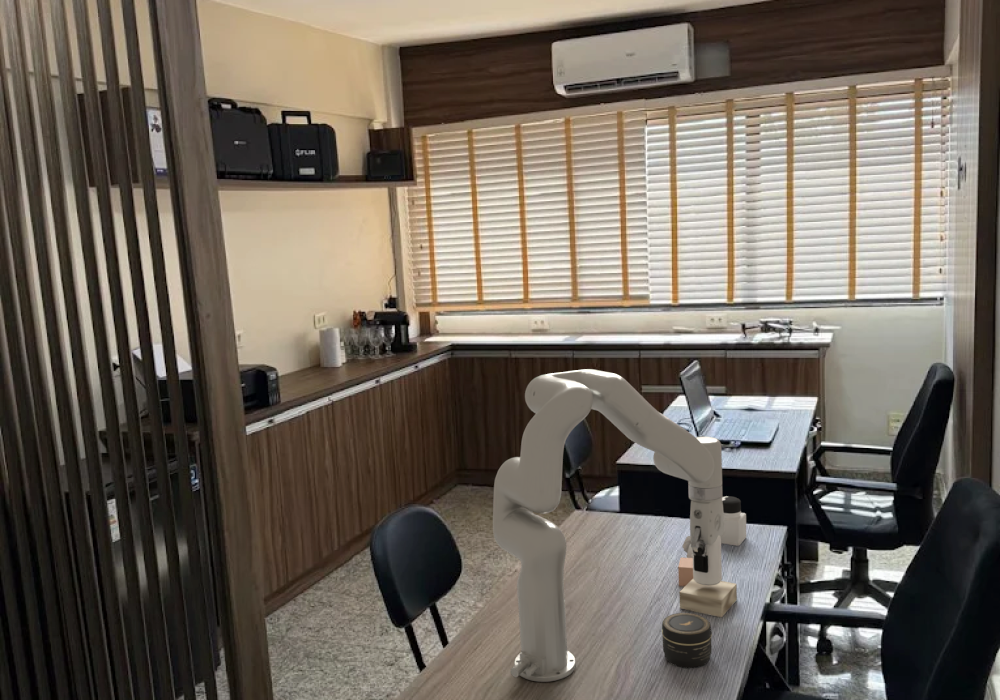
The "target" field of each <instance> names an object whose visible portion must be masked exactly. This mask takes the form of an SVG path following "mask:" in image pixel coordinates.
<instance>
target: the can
mask: <svg viewBox="0 0 1000 700" xmlns="http://www.w3.org/2000/svg"><path fill="white" fill-rule="evenodd" d="M699 541H700V542H704V540H703V539H700V540H699ZM699 547H701V548H702V550H703V545H701V544H699ZM692 553H693V550H692ZM706 555H707V556H708V572H707V573H704V572H699V571H695V570H694V555H693V579H694V580H695V582H697V583H699V584H702V585H716V584H718V583H720V581H723V578H722V577H723V576H722V575H723V572H722V571H723V570H722V567H723V566H722V543H721V537H720V535H719V536H718V537H717V539H716V541H715V542H714V543H713V544H711V545H707V553H706Z"/></svg>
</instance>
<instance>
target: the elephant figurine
mask: <svg viewBox="0 0 1000 700" xmlns="http://www.w3.org/2000/svg"><path fill="white" fill-rule="evenodd" d="M691 542H692V541H691V537H690V535H687V536H686V538H685V540H684V541H683V544H682V549H683V551H684V552H685V553H686V558H693V553H692V547H691Z"/></svg>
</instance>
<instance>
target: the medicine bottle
mask: <svg viewBox="0 0 1000 700" xmlns="http://www.w3.org/2000/svg"><path fill="white" fill-rule="evenodd" d="M722 502H723V512H724V527H725V531H724V533H723V535H722V536H721V545H723V544H724V545H729V546H737V547H739V546H740V545H741V544H742V543H743V542H744V540H746V538H747V513H745V512H742V505H741V504H742V501H741V499H740V498H737V497H736V496H729V495H728V496H727V495H726V496H722Z"/></svg>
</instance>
